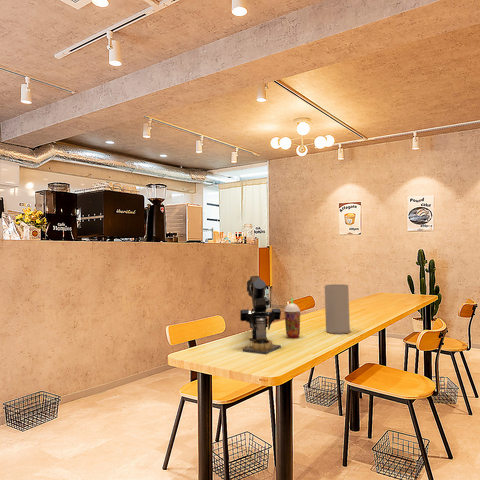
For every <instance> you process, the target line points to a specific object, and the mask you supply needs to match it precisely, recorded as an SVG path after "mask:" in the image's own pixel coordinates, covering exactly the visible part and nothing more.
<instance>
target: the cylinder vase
mask: <svg viewBox="0 0 480 480" xmlns="http://www.w3.org/2000/svg"><path fill="white" fill-rule="evenodd" d="M349 293H350V292H349V285H348V284H325V285H324V309H325V331H326V332H327V333H329V334H334V335H345V334H348V333H350V331H351V328H350V327H351V325H350V298H349V296H350V295H349Z"/></svg>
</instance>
